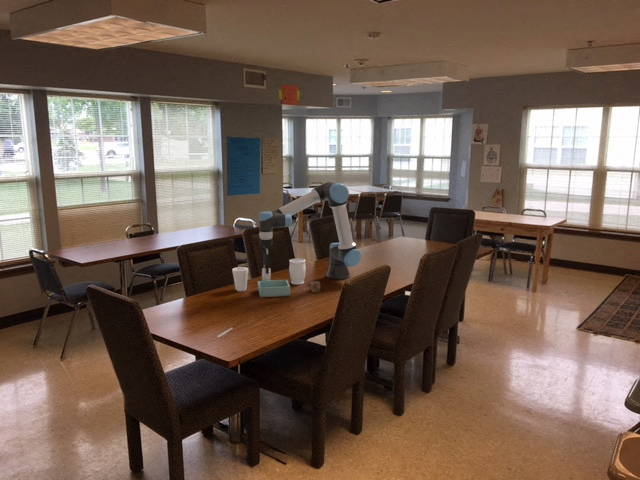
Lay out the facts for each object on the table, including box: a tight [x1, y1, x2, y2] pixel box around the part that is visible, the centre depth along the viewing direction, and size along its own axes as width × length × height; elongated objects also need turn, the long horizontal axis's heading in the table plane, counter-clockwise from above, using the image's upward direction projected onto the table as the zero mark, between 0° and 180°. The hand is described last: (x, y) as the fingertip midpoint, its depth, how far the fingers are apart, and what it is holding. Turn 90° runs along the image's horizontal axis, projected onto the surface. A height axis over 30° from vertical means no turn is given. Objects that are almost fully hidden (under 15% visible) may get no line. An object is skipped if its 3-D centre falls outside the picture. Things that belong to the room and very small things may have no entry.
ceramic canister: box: [261, 267, 272, 281], centre depth 300 cm, size 5×5×7 cm
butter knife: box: [216, 327, 233, 338], centre depth 246 cm, size 1×27×3 cm
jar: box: [288, 258, 307, 285], centre depth 322 cm, size 11×10×15 cm
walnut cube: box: [310, 281, 321, 293], centre depth 306 cm, size 5×5×5 cm
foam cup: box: [232, 266, 249, 292], centre depth 308 cm, size 10×9×13 cm
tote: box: [257, 279, 291, 298], centre depth 302 cm, size 18×16×6 cm
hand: (266, 277), depth 300 cm, fingers closed on ceramic canister, 5 cm apart
